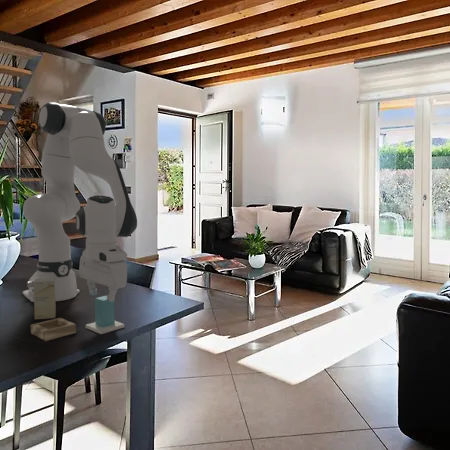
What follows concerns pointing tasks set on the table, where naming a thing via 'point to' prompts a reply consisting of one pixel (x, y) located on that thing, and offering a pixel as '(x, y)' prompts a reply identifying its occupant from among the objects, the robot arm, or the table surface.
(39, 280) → the skincare box
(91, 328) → the ceramic tile
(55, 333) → the pocket holder
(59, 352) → the table surface
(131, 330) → the table surface
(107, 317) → the teal bar
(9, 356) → the table surface
